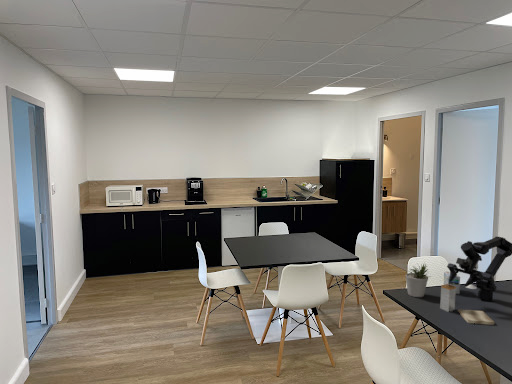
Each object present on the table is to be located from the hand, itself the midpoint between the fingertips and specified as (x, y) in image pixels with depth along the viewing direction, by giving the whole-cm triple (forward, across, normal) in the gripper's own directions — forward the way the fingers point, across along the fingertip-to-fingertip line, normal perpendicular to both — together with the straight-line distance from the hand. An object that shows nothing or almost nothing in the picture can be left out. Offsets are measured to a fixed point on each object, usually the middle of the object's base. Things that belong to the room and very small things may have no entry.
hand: (457, 283), depth 213 cm
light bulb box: (-6, -18, +25) cm, 31 cm away
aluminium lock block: (+14, 0, +4) cm, 15 cm away
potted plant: (+12, -23, +6) cm, 27 cm away
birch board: (+13, +14, +6) cm, 20 cm away
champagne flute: (-18, -17, +37) cm, 45 cm away
